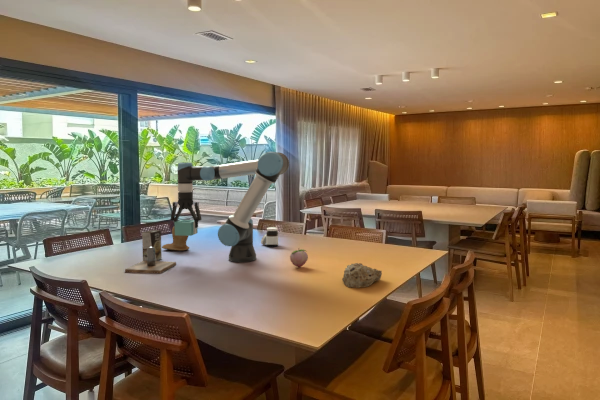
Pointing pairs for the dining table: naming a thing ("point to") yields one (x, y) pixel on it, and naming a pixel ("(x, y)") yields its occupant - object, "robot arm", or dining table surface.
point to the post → (151, 256)
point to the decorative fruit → (299, 257)
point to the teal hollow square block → (184, 227)
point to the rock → (360, 275)
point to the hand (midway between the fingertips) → (186, 233)
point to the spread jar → (270, 237)
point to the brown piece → (177, 242)
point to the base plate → (150, 267)
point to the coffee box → (152, 243)
